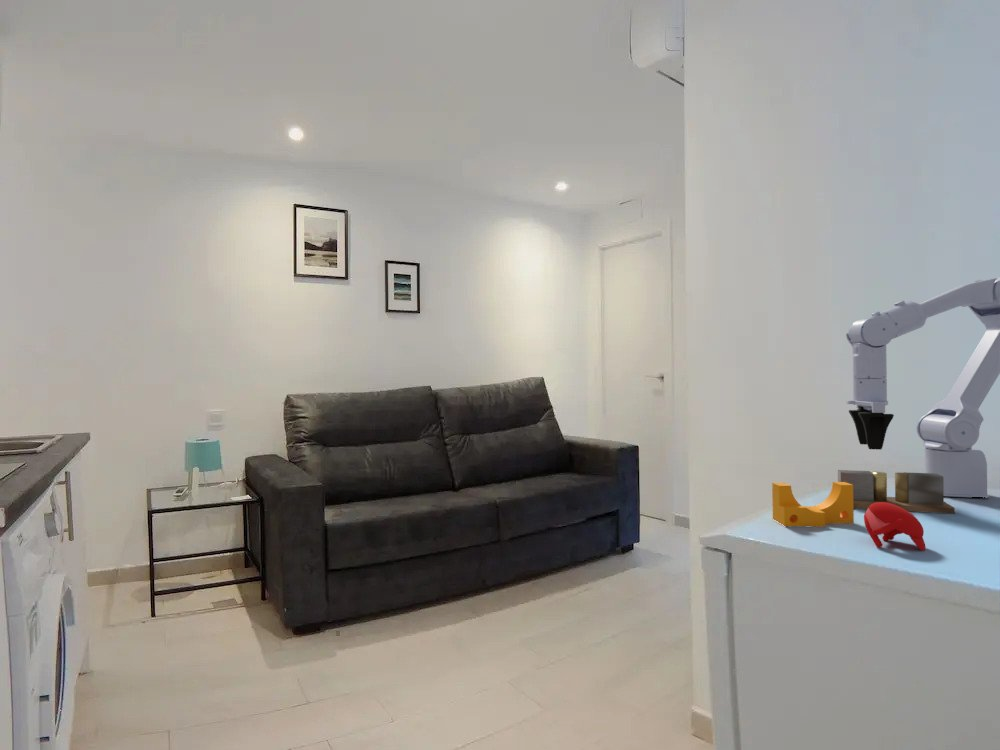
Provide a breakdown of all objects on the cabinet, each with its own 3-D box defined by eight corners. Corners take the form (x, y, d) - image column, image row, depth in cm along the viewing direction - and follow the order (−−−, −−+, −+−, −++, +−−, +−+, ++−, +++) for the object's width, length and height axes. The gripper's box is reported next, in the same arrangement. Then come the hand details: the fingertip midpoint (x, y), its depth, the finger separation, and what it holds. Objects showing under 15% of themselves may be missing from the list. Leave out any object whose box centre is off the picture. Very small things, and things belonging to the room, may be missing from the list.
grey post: (884, 498, 111) (884, 471, 111) (888, 502, 108) (888, 474, 108) (838, 496, 114) (837, 470, 114) (841, 499, 111) (840, 472, 111)
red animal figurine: (853, 523, 86) (894, 507, 82) (858, 502, 91) (897, 486, 87) (891, 569, 85) (934, 555, 81) (894, 545, 90) (935, 531, 86)
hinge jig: (940, 504, 110) (940, 472, 110) (954, 513, 103) (954, 478, 103) (835, 499, 116) (834, 468, 116) (842, 507, 109) (842, 474, 109)
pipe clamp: (784, 528, 97) (783, 487, 97) (772, 521, 101) (772, 482, 101) (859, 527, 97) (859, 486, 97) (844, 520, 101) (844, 481, 101)
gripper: (839, 378, 128) (840, 441, 128) (854, 379, 114) (855, 450, 115) (878, 377, 126) (878, 442, 126) (897, 379, 112) (898, 452, 112)
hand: (870, 446), depth 120 cm, fingers open, 7 cm apart
